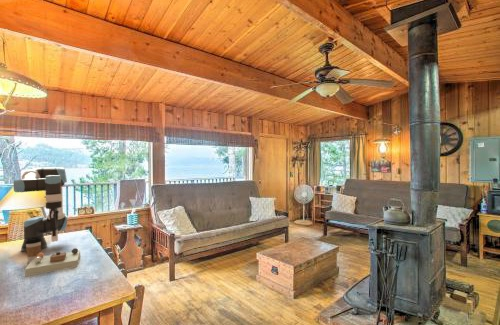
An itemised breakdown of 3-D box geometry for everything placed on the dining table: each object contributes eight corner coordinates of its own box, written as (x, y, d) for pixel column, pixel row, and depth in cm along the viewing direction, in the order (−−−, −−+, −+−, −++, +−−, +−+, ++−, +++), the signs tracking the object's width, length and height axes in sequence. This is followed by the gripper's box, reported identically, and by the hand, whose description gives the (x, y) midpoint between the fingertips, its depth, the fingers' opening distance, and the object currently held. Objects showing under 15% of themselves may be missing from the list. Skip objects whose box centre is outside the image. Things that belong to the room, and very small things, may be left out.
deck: (33, 264, 166) (33, 257, 166) (80, 256, 178) (80, 250, 178) (25, 276, 149) (24, 269, 149) (77, 266, 161) (77, 260, 161)
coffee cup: (32, 263, 168) (32, 240, 168) (22, 262, 169) (21, 239, 169) (45, 258, 176) (44, 236, 176) (35, 257, 178) (34, 236, 178)
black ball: (72, 253, 173) (71, 248, 173) (78, 252, 175) (78, 247, 175) (71, 254, 170) (71, 249, 170) (77, 253, 172) (77, 248, 172)
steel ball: (35, 262, 159) (35, 256, 159) (42, 261, 160) (42, 255, 160) (33, 264, 156) (33, 258, 156) (41, 263, 157) (41, 257, 157)
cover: (52, 258, 164) (52, 252, 164) (65, 256, 168) (65, 250, 168) (50, 262, 158) (50, 255, 158) (64, 259, 161) (64, 253, 161)
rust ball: (37, 257, 166) (37, 252, 166) (44, 256, 168) (44, 251, 168) (36, 259, 163) (36, 254, 163) (43, 258, 165) (43, 253, 165)
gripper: (48, 200, 158) (49, 239, 158) (43, 203, 146) (44, 245, 146) (63, 199, 161) (64, 237, 161) (59, 202, 149) (60, 243, 149)
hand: (54, 240), depth 154 cm, fingers closed
